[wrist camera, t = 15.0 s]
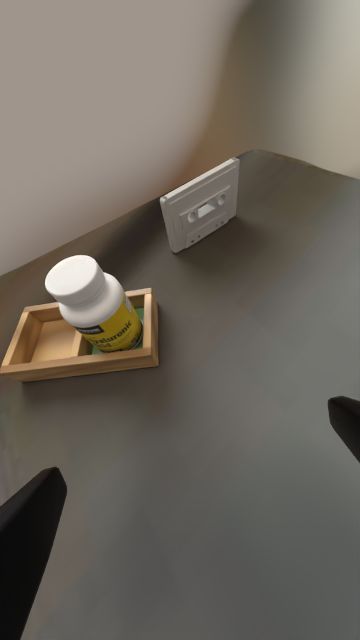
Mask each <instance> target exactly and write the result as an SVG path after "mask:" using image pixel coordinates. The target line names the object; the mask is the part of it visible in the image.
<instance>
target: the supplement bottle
mask: <svg viewBox="0 0 360 640" xmlns="http://www.w3.org/2000/svg"><path fill="white" fill-rule="evenodd" d="M45 286H46V289H47V291H48V292H49V293H50V294H51V295H52V296H53V297H54V298H55V299H56V300H57V301H58V302H59V309H60V312H61V315H62V316H63V318H64V319H65V320H66V321H67V322H68V323H69V324H70V325H71V326H72V327H73V328H75V329H76V330H77V331H78V332H79V333H80V334H81V335H83V336H84V337H85V338H86V339H87V340H88V341H90V342H91V343H92V344H93V345H94V346H95V347H97V348H98V349H99V350H100V351H101V352H103V353H111V352H119V351H127V350H133V349H134V348H135V347H136V346H137V345H138V344H139V342H140V341H141V339H142V336H143V325H142V322H141V320H140V318H139V316H138V315H137V313H136V311H135V309H134V308H133V306H132V304H131V302H130V301H129V299H128V297H127V295H126V294H125V292H124V290H123V288H122V287H121V285H120V284H119V282H118V281H117V280H116V279H115V278H114V277H113V276H111V275H109V274H107V273H103V271H102V270H101V268H100V267H99V265H98V264H97V262H96V261H95V260H94V259H93V258H91V257H89V256H84V255H79V256H73V257H70V258H67V259H65V260H63V261H61V262H60V263H58V264H57V265H55V266H54V267H53V268H52V269H51V271H50V272H49V273H48V275H47V277H46V281H45Z"/></svg>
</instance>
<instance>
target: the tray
mask: <svg viewBox="0 0 360 640" xmlns="http://www.w3.org/2000/svg"><path fill="white" fill-rule="evenodd" d="M125 294H126V295H127V297H128V299H129V301H130V302H131V304H132V306H133V308H134V309H135V311H136V313H137V315H138V316H139V318H140V320H141V322H142V325H143V336H142V339H141V341H140V342H139V344H138V345H137V346H136V347H135V348H134V349H133V350H127V351H119V352H111V353H103V352H101V351H100V350H99V349H98V348H97V347H95V346H94V345H93V344H92V343H91V342H90V341H88V340H87V339H86V338H85V337H84V336H83V335H81V334H80V333H79V332H78V331H77V330H76V329H75V328H73V327H72V326H71V325H70V324H69V323H68V322H67V321H66V320H65V319H64V318H63V316H62V315H61V312H60V309H59V302H56V303H49V304H43V305H36V306H30V307H25V309H24V311H23V314H22V316H21V319H20V321H19V323H18V326H17V328H16V331H15V333H14V336H13V338H12V341H11V343H10V346H9V348H8V351H7V353H6V356H5V358H4V361H3V363H2V366H1V368H0V375H3V376H6V377H9V378H12V379H15V380H17V381H20V382H27V381H35V380H44V379H52V378H61V377H69V376H78V375H87V374H95V373H104V372H112V371H121V370H129V369H138V368H146V367H155V366H158V303H157V300H156V298H155V295H154V293H153V291H152V288H147V289H141V290H134V291H128V292H125Z"/></svg>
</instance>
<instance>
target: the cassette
mask: <svg viewBox="0 0 360 640" xmlns="http://www.w3.org/2000/svg"><path fill="white" fill-rule="evenodd" d="M239 162H240V161H239V159H236V158H232V159H230V160H228V161H226V162H225V163H223V164H221V165H219V166H218V167H215V168H214V169H212V170H210V171H208V172H206V173H205V174H203V175H201V176H199V177H197V178H196V179H194V180H192V181H190V182H188V183H187V184H185V185H183V186H181V187H179V188H178V189H176V190H174V191H172V192H170V193H169V194H167V195H165V196H163V197H161V199H160V204H161V208H162V212H163V217H164V221H165V225H166V230H167V234H168V238H169V243H170V247H171V250H172V251H173V252H174V253H177V252H179V251H181V250H182V249H184V248H186V249H187V248H188V247H190V246H191V245H193V244H195V243H196V242H198V241H199V240H201V239H202V238H204V237H205V236H207V235H209V234H210V233H212V232H213V231H215V230H216V229H218V228H220V227H221V226H223V225H224V224H226V223H227V222H228V220H229V219H231V218H232V217H234V216H235V214H236V202H237V189H238V175H239ZM206 202H208V204H207V205H205V206H203V207H202V208H200V209H198V207H199V206H201V205H203V204H204V203H206Z"/></svg>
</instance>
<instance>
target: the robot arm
mask: <svg viewBox="0 0 360 640" xmlns="http://www.w3.org/2000/svg"><path fill="white" fill-rule="evenodd" d="M328 410H329V418H330V423H331V425H332V427H333V429H334V430H335V431H336V433H337V434H338V435H339V437H340V438H341V439H342V441H343V442H344V443H345V444H346V446H347V447H348V448H349V450H350V451H351V452H352V454H353V455H354V456H355V457H356V459H357V460H358V461H359V463H360V401H357V400H354V399H351V398H348V397H344V396H338V397H334V398H330V399H329V400H328ZM66 495H67V485H66V483H65V481H64V479H63V476H62V474H61V472H60V470H59V468H57V467H52V468H48V469H44V470H42V471H41V472H40V473H39V474H38V475H36V476H35V477H34V478H33V479H32V480H31V481H29V482H28V483H27V484H26V485H25V486H24V487H23V488H21V489H20V490H19V491H18V492H17V493H16V494H14V495H13V496H12V497H11V498H10V499H9V500H7V501H6V502H5V503H4V504H3V505H2V506H1V507H0V640H20V639H21V636H22V633H23V631H24V628H25V625H26V622H27V619H28V616H29V614H30V611H31V608H32V605H33V602H34V599H35V597H36V594H37V591H38V588H39V585H40V582H41V580H42V577H43V574H44V571H45V568H46V565H47V562H48V559H49V556H50V553H51V549H52V546H53V542H54V539H55V535H56V531H57V528H58V524H59V521H60V517H61V513H62V510H63V506H64V502H65V499H66Z"/></svg>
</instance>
